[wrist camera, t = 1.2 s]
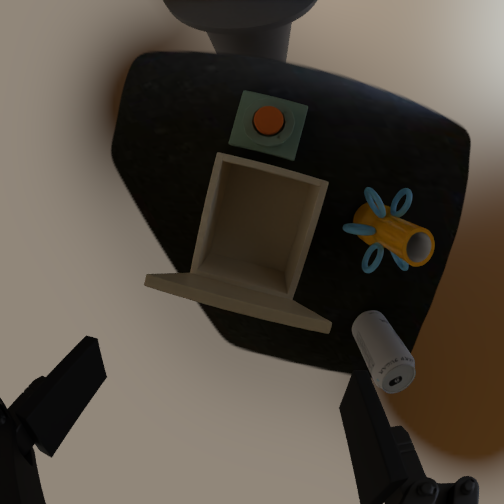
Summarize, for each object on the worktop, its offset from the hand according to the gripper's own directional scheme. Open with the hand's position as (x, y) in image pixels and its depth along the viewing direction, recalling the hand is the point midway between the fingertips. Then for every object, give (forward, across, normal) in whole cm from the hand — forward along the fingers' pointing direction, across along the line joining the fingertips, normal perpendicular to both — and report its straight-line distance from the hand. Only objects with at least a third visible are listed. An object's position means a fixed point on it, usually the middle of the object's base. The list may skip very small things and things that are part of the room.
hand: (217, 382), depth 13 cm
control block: (+29, +1, +17) cm, 34 cm away
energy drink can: (+29, +20, -12) cm, 38 cm away
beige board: (+13, 0, -1) cm, 13 cm away
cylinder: (+29, +17, +5) cm, 34 cm away
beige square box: (+29, +1, +4) cm, 30 cm away
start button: (+26, +1, +17) cm, 31 cm away
